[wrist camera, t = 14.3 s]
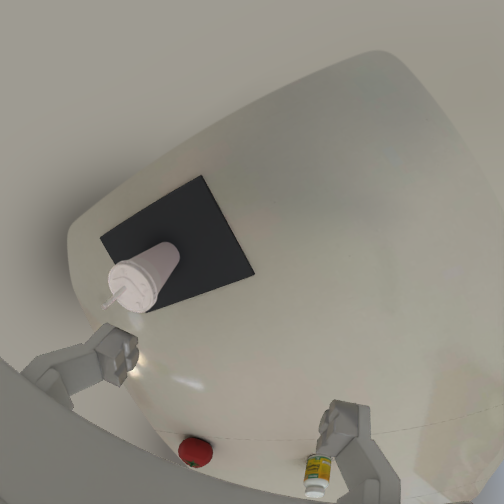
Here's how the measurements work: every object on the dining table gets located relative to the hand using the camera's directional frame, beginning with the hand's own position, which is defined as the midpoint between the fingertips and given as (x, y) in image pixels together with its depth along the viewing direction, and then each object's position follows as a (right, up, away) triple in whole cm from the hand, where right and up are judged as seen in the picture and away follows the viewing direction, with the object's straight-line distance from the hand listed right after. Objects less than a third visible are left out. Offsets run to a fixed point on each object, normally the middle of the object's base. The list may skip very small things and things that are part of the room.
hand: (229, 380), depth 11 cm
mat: (-11, +5, +30) cm, 32 cm away
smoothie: (-11, +5, +30) cm, 32 cm away
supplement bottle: (+16, -40, +44) cm, 61 cm away
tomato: (-11, -40, +51) cm, 65 cm away
